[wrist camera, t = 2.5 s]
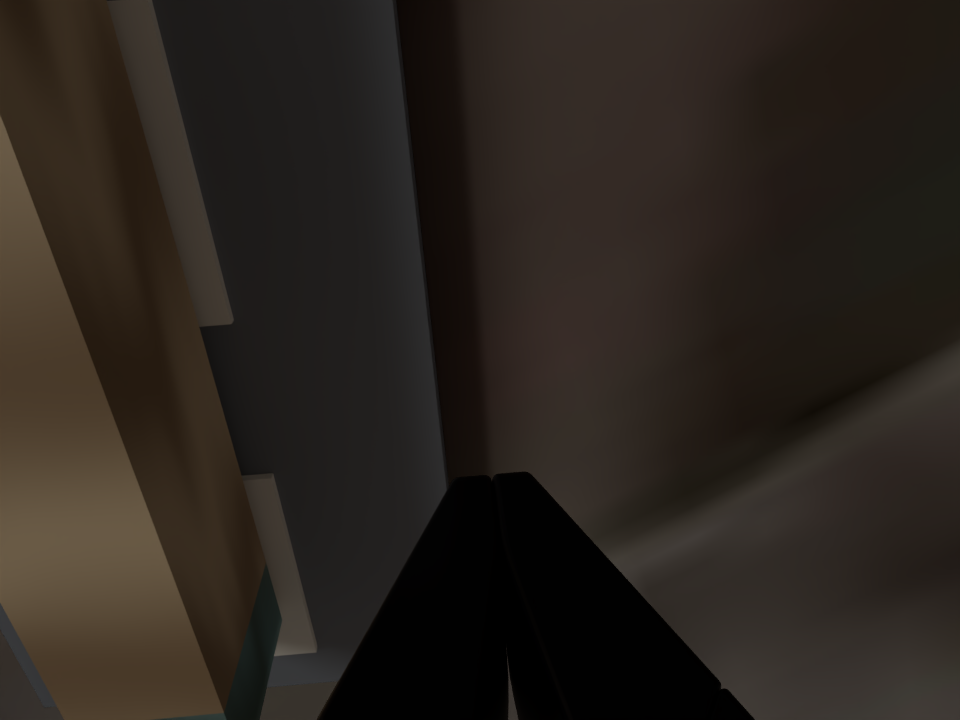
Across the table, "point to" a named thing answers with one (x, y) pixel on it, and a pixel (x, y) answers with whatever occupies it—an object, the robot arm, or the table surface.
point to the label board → (300, 290)
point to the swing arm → (111, 407)
